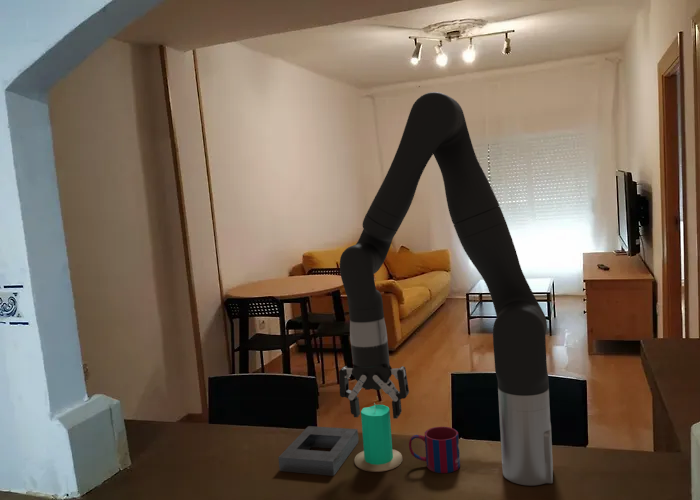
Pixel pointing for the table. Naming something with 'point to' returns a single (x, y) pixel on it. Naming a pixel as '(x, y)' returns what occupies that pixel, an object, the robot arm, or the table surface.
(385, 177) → the robot arm
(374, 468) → the cork coaster
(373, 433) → the candle
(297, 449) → the grey rectangular frame
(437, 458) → the mug
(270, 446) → the table surface
